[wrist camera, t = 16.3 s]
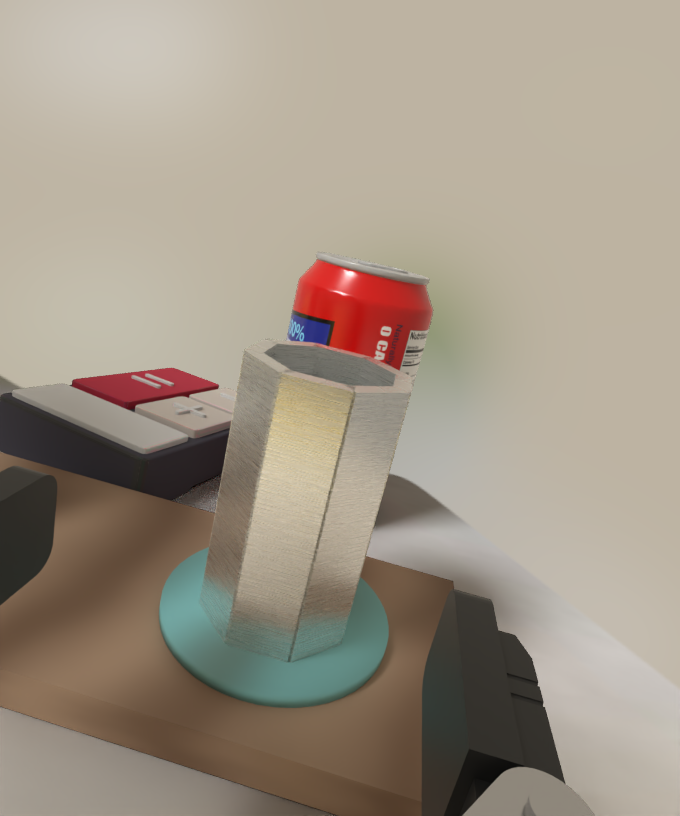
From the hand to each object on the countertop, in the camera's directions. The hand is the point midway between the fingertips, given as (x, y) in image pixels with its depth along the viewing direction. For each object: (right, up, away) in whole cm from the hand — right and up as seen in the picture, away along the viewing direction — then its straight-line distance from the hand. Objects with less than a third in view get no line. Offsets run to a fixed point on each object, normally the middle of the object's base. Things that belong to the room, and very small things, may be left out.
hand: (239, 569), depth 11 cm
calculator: (-11, 0, +27) cm, 29 cm away
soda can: (+1, -3, +25) cm, 25 cm away
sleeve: (-1, -5, +11) cm, 12 cm away
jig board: (-8, -5, +12) cm, 15 cm away
